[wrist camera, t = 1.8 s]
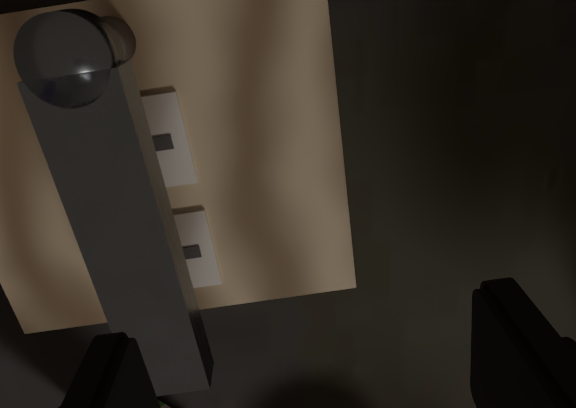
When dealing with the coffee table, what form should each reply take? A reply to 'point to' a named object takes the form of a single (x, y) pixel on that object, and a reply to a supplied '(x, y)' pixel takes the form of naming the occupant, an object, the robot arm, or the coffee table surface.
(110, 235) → the swing bar
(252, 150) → the label board
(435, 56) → the coffee table surface
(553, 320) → the coffee table surface
